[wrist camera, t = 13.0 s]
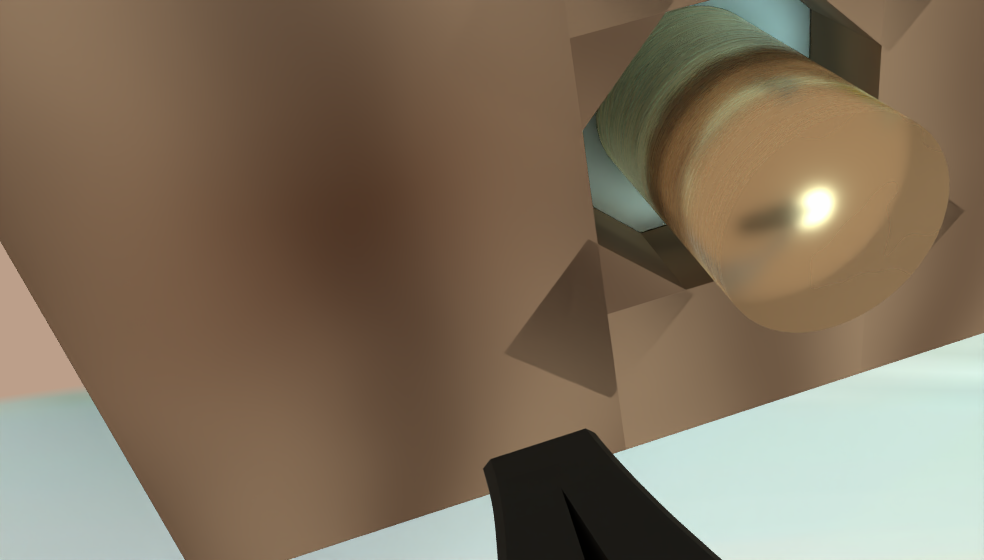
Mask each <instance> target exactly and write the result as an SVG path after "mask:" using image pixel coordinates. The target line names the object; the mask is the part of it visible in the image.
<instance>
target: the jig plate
mask: <svg viewBox="0 0 984 560" xmlns="http://www.w3.org/2000/svg"><path fill="white" fill-rule="evenodd" d="M705 1H708V0H0V241H1V243H2V245H3V246H4V248H5V250H6V252H7V254H8V255H9V257H10V259H11V260H12V262H13V264H14V266H15V267H16V269H17V271H18V273H19V274H20V276H21V278H22V279H23V281H24V283H25V285H26V286H27V288H28V290H29V292H30V293H31V295H32V296H33V298H34V300H35V302H36V304H37V305H38V307H39V309H40V310H41V312H42V314H43V316H44V317H45V319H46V321H47V323H48V324H49V326H50V328H51V329H52V331H53V333H54V335H55V336H56V338H57V340H58V342H59V343H60V345H61V347H62V348H63V350H64V352H65V354H66V355H67V357H68V359H69V361H70V362H71V364H72V366H73V367H74V369H75V371H76V373H77V374H78V376H79V378H80V379H81V381H82V383H83V385H84V386H85V388H86V390H87V392H88V393H89V395H90V397H91V398H92V400H93V402H94V404H95V405H96V407H97V409H98V411H99V412H100V414H101V416H102V417H103V419H104V421H105V423H106V424H107V426H108V428H109V430H110V431H111V433H112V435H113V436H114V438H115V440H116V442H117V443H118V445H119V447H120V449H121V450H122V452H123V454H124V455H125V457H126V459H127V461H128V462H129V464H130V466H131V467H132V469H133V471H134V473H135V474H136V476H137V478H138V480H139V481H140V483H141V485H142V486H143V488H144V490H145V492H146V493H147V495H148V497H149V499H150V500H151V502H152V504H153V505H154V507H155V509H156V511H157V512H158V514H159V516H160V518H161V519H162V521H163V523H164V524H165V526H166V528H167V530H168V531H169V533H170V535H171V536H172V538H173V540H174V542H175V543H176V545H177V547H178V549H179V550H180V552H181V554H182V555H183V557H184V559H185V560H289V559H292V558H295V557H298V556H301V555H304V554H307V553H310V552H314V551H317V550H320V549H323V548H326V547H329V546H332V545H335V544H338V543H341V542H344V541H347V540H350V539H353V538H356V537H359V536H363V535H366V534H369V533H372V532H375V531H378V530H381V529H384V528H387V527H390V526H393V525H396V524H399V523H402V522H405V521H408V520H412V519H415V518H418V517H421V516H424V515H427V514H430V513H433V512H436V511H439V510H442V509H445V508H448V507H451V506H454V505H458V504H461V503H464V502H467V501H470V500H473V499H476V498H479V497H482V496H485V495H488V494H490V493H489V489H488V486H487V482H486V478H485V474H484V471H483V468H484V467H485V465H486V464H487V463H488V461H489V460H490V459H492V458H495V457H498V456H501V455H504V454H507V453H511V452H514V451H517V450H520V449H523V448H526V447H529V446H532V445H535V444H539V443H542V442H545V441H548V440H551V439H554V438H557V437H560V436H563V435H566V434H570V433H573V432H576V431H579V430H582V429H585V428H586V429H588V430H590V431H592V432H594V433H596V435H597V436H598V437H599V438H600V440H601V441H602V442H603V443H604V444H605V446H606V447H607V448H608V449H609V450H610V451H611V452H612V454H614V453H617V452H620V451H623V450H626V449H629V448H632V447H635V446H638V445H641V444H644V443H647V442H651V441H654V440H657V439H660V438H663V437H666V436H669V435H672V434H675V433H678V432H681V431H684V430H687V429H690V428H693V427H696V426H700V425H703V424H706V423H709V422H712V421H715V420H718V419H721V418H724V417H727V416H730V415H733V414H736V413H739V412H742V411H745V410H749V409H752V408H755V407H758V406H761V405H764V404H767V403H770V402H773V401H776V400H779V399H782V398H785V397H788V396H791V395H794V394H798V393H801V392H804V391H807V390H810V389H813V388H816V387H819V386H822V385H825V384H828V383H831V382H834V381H837V380H840V379H844V378H847V377H850V376H853V375H856V374H859V373H862V372H865V371H868V370H871V369H874V368H877V367H880V366H883V365H886V364H889V363H893V362H896V361H899V360H902V359H905V358H908V357H911V356H914V355H917V354H920V353H923V352H926V351H929V350H932V349H935V348H938V347H942V346H945V345H948V344H951V343H954V342H957V341H960V340H963V339H966V338H969V337H972V336H975V335H978V334H981V333H984V0H800V1H802V2H803V3H804V4H805V5H807V6H808V7H809V8H810V9H811V44H810V59H811V60H812V61H814V62H816V63H818V64H819V65H821V66H823V67H824V68H826V69H828V70H829V71H831V72H833V73H834V74H836V75H838V76H839V77H841V78H843V79H844V80H846V81H848V82H849V83H851V84H853V85H854V86H856V87H858V88H859V89H861V90H863V91H864V92H866V93H868V94H869V95H871V96H873V97H874V98H876V99H878V100H879V101H881V102H883V103H884V104H886V105H888V106H890V107H891V108H893V109H895V110H896V111H898V112H900V113H901V114H903V115H905V116H906V117H908V118H910V119H911V120H913V121H915V122H916V123H918V124H920V125H921V126H923V127H924V128H925V129H926V130H927V131H928V132H929V133H930V134H931V135H932V136H933V137H934V139H935V140H936V141H937V142H938V144H939V146H940V148H941V150H942V152H943V154H944V156H945V159H946V163H947V166H948V173H949V198H948V205H947V209H946V213H945V217H944V220H943V223H942V226H941V228H940V230H939V233H938V235H937V237H936V239H935V241H934V243H933V245H932V247H931V249H930V250H929V252H928V253H927V255H926V256H925V258H924V259H923V261H922V262H921V264H920V265H919V266H918V267H917V269H916V270H915V271H914V272H913V274H912V275H911V276H910V277H909V278H908V279H907V280H906V281H905V282H904V283H903V284H902V285H901V286H900V287H899V288H898V289H897V290H896V291H895V292H894V293H892V294H891V295H890V296H889V297H888V298H886V299H885V300H884V301H882V302H881V303H880V304H878V305H877V306H875V307H874V308H872V309H871V310H869V311H867V312H866V313H864V314H862V315H860V316H858V317H856V318H854V319H852V320H850V321H848V322H845V323H843V324H840V325H837V326H835V327H831V328H827V329H824V330H819V331H812V332H801V333H791V332H781V331H777V330H772V329H769V328H766V327H764V326H761V325H759V324H757V323H755V322H754V321H752V320H750V319H749V318H747V317H746V316H745V315H744V314H743V313H742V312H741V311H740V310H739V309H738V308H737V307H736V306H735V305H734V303H733V302H732V301H731V300H730V299H729V298H728V296H727V295H726V294H725V293H724V292H723V290H722V289H721V288H720V287H719V286H718V285H717V283H716V282H715V281H714V280H713V279H712V278H711V276H710V275H709V274H708V273H707V272H706V270H705V269H704V268H703V267H702V266H701V265H700V263H699V262H698V261H697V260H696V259H695V258H694V256H693V255H692V254H691V253H690V252H689V250H688V249H687V248H686V247H685V246H684V245H683V243H682V242H681V241H680V240H679V239H678V238H677V236H676V235H675V234H674V233H673V232H672V230H671V229H670V228H669V227H668V226H664V227H660V228H657V229H654V230H650V231H647V232H644V233H639V232H638V231H636V230H634V229H632V228H630V227H628V226H626V225H625V224H623V223H621V222H619V221H617V220H615V219H614V218H612V217H610V216H608V215H606V214H604V213H603V212H601V211H599V210H597V209H595V208H593V205H592V198H591V191H590V183H589V176H588V169H587V161H586V154H585V147H584V139H583V132H582V131H583V129H584V128H585V127H586V125H587V124H588V122H589V121H590V119H591V118H592V117H593V115H594V114H595V112H596V111H597V109H598V108H599V107H600V105H601V104H602V102H603V101H604V99H605V98H606V97H607V95H608V94H609V92H610V91H611V89H612V88H613V87H614V85H615V84H616V82H617V81H618V79H619V78H620V77H621V75H622V74H623V72H624V71H625V70H626V68H627V67H628V65H629V64H630V62H631V61H632V60H633V58H634V57H635V55H636V54H637V52H638V51H639V50H640V48H641V47H642V45H643V44H644V42H645V41H646V40H647V38H648V37H649V35H650V34H651V32H652V31H653V30H654V28H655V27H656V25H657V24H658V23H659V21H660V20H661V18H662V17H663V15H664V14H665V13H666V12H668V11H672V10H675V9H679V8H683V7H686V6H690V5H694V4H697V3H701V2H705Z"/></svg>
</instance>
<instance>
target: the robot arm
mask: <svg viewBox="0 0 984 560" xmlns="http://www.w3.org/2000/svg"><path fill="white" fill-rule="evenodd" d="M483 471H484V474H485V478H486V482H487V486H488V489H489V493H490V497H491V501H492V506H493V513H494V521H495V529H496V542H497V554H498V560H722V559H721V558H719V557H718V556H717V555H716V554H715V553H714V552H712V551H711V550H710V549H709V548H708V547H707V546H706V545H705V544H704V543H703V542H701V541H700V540H699V539H698V538H697V537H696V536H695V535H694V534H693V533H691V532H690V531H689V530H688V529H687V528H686V527H685V526H684V525H683V524H681V523H680V522H679V521H678V520H677V519H676V518H675V517H674V516H673V515H672V514H671V513H670V512H669V511H668V510H666V509H665V508H664V507H663V506H662V505H661V504H660V503H659V502H658V501H657V500H656V499H655V498H654V497H653V496H652V495H651V494H650V493H649V492H648V491H647V490H646V489H645V488H644V487H643V486H642V485H641V484H640V483H639V482H638V481H637V480H636V479H635V478H634V476H633V475H632V474H631V473H630V472H629V471H628V470H627V469H626V468H625V467H624V466H623V465H622V464H621V463H620V461H619V460H618V459H617V458H616V457H615V456H614V455H613V454H612V452H611V451H610V450H609V449H608V448H607V447H606V446H605V444H604V443H603V442H602V441H601V440H600V438H599V437H598V436H597V435H596V433H594V432H592V431H590V430H588V429H586V428H585V429H582V430H579V431H576V432H573V433H570V434H566V435H563V436H560V437H557V438H554V439H551V440H548V441H545V442H542V443H539V444H535V445H532V446H529V447H526V448H523V449H520V450H517V451H514V452H511V453H507V454H504V455H501V456H498V457H495V458H492V459H490V460H489V461H488V463H487V464H486V465H485V467H484V468H483Z"/></svg>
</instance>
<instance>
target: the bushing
mask: <svg viewBox="0 0 984 560" xmlns="http://www.w3.org/2000/svg"><path fill="white" fill-rule="evenodd" d="M596 123H597V129H598V134H599V138H600V140H601V143H602V145H603V147H604V149H605V151H606V153H607V154H608V156H609V157H610V158H611V160H612V161H613V162H614V163H615V165H616V166H617V167H618V168H619V169H620V171H621V172H622V173H623V174H624V175H625V176H626V178H627V179H628V180H629V181H630V182H631V183H632V185H633V186H634V187H635V188H636V189H637V191H638V192H639V193H640V194H641V195H642V196H643V198H644V199H645V200H646V201H647V202H648V203H649V205H650V206H651V207H652V208H653V209H654V210H655V212H656V213H657V214H658V215H659V216H660V218H661V219H662V220H663V221H664V222H665V223H666V225H667V226H668V227H669V228H670V229H671V230H672V232H673V233H674V234H675V235H676V236H677V238H678V239H679V240H680V241H681V242H682V243H683V245H684V246H685V247H686V248H687V249H688V250H689V252H690V253H691V254H692V255H693V256H694V258H695V259H696V260H697V261H698V262H699V263H700V265H701V266H702V267H703V268H704V269H705V270H706V272H707V273H708V274H709V275H710V276H711V278H712V279H713V280H714V281H715V282H716V283H717V285H718V286H719V287H720V288H721V289H722V290H723V292H724V293H725V294H726V295H727V296H728V298H729V299H730V300H731V301H732V302H733V303H734V305H735V306H736V307H737V308H738V309H739V310H740V311H741V312H742V313H743V314H744V315H745V316H746V317H747V318H749V319H750V320H752V321H754V322H755V323H757V324H759V325H761V326H764V327H766V328H769V329H772V330H777V331H781V332H791V333H801V332H812V331H819V330H824V329H827V328H831V327H835V326H837V325H840V324H843V323H845V322H848V321H850V320H852V319H854V318H856V317H858V316H860V315H862V314H864V313H866V312H867V311H869V310H871V309H872V308H874V307H875V306H877V305H878V304H880V303H881V302H882V301H884V300H885V299H886V298H888V297H889V296H890V295H891V294H892V293H894V292H895V291H896V290H897V289H898V288H899V287H900V286H901V285H902V284H903V283H904V282H905V281H906V280H907V279H908V278H909V277H910V276H911V275H912V274H913V272H914V271H915V270H916V269H917V267H918V266H919V265H920V264H921V262H922V261H923V259H924V258H925V256H926V255H927V253H928V252H929V250H930V249H931V247H932V245H933V243H934V241H935V239H936V237H937V235H938V233H939V230H940V228H941V226H942V223H943V220H944V217H945V213H946V209H947V205H948V198H949V173H948V166H947V163H946V159H945V156H944V154H943V152H942V150H941V148H940V146H939V144H938V142H937V141H936V140H935V139H934V137H933V136H932V135H931V134H930V133H929V132H928V131H927V130H926V129H925V128H924V127H923V126H921V125H920V124H918V123H916V122H915V121H913V120H911V119H910V118H908V117H906V116H905V115H903V114H901V113H900V112H898V111H896V110H895V109H893V108H891V107H890V106H888V105H886V104H884V103H883V102H881V101H879V100H878V99H876V98H874V97H873V96H871V95H869V94H868V93H866V92H864V91H863V90H861V89H859V88H858V87H856V86H854V85H853V84H851V83H849V82H848V81H846V80H844V79H843V78H841V77H839V76H838V75H836V74H834V73H833V72H831V71H829V70H828V69H826V68H824V67H823V66H821V65H819V64H818V63H816V62H814V61H812V60H811V59H809V58H807V57H806V56H804V55H802V54H801V53H799V52H797V51H796V50H794V49H792V48H791V47H789V46H787V45H786V44H784V43H782V42H781V41H779V40H777V39H776V38H774V37H772V36H771V35H769V34H767V33H766V32H764V31H762V30H761V29H759V28H757V27H756V26H754V25H752V24H751V23H749V22H747V21H746V20H744V19H742V18H740V17H739V16H737V15H735V14H734V13H732V12H729V11H727V10H724V9H721V8H716V7H711V6H692V7H685V8H680V9H676V10H673V11H670V12H667V13H665V14H664V15H663V17H662V18H661V20H660V21H659V23H658V24H657V25H656V27H655V28H654V30H653V31H652V32H651V34H650V35H649V37H648V38H647V40H646V41H645V42H644V44H643V45H642V47H641V48H640V50H639V51H638V52H637V54H636V55H635V57H634V58H633V60H632V61H631V62H630V64H629V65H628V67H627V68H626V70H625V71H624V72H623V74H622V75H621V77H620V78H619V79H618V81H617V82H616V84H615V85H614V87H613V88H612V89H611V91H610V92H609V94H608V95H607V97H606V98H605V99H604V101H603V102H602V104H601V105H600V107H599V108H598V109H597V111H596Z"/></svg>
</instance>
